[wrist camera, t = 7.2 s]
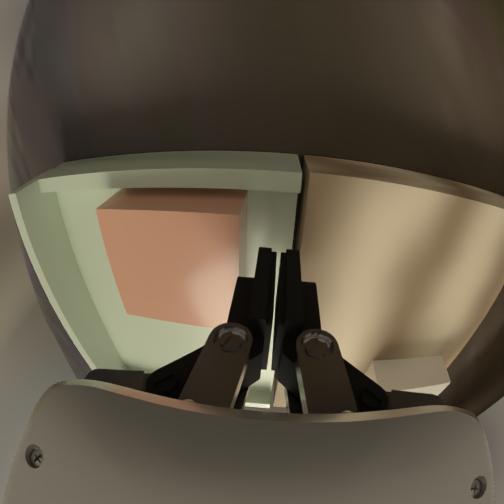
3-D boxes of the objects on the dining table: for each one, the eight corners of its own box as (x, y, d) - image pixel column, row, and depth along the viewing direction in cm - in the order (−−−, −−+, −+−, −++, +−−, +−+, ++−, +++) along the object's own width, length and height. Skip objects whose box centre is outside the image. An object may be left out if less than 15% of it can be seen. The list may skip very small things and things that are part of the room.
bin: (297, 154, 12) (306, 189, 8) (271, 377, 23) (267, 426, 18) (64, 162, 13) (8, 194, 9) (129, 354, 24) (111, 395, 19)
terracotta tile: (247, 189, 11) (239, 214, 9) (245, 296, 15) (238, 331, 13) (124, 186, 12) (95, 208, 10) (144, 284, 15) (126, 313, 13)
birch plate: (505, 196, 11) (532, 218, 9) (411, 375, 22) (417, 399, 19) (303, 154, 12) (309, 172, 10) (275, 377, 23) (273, 406, 20)
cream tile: (441, 354, 15) (450, 382, 13) (408, 394, 18) (413, 418, 16) (372, 360, 16) (378, 392, 13) (346, 400, 19) (349, 426, 17)
